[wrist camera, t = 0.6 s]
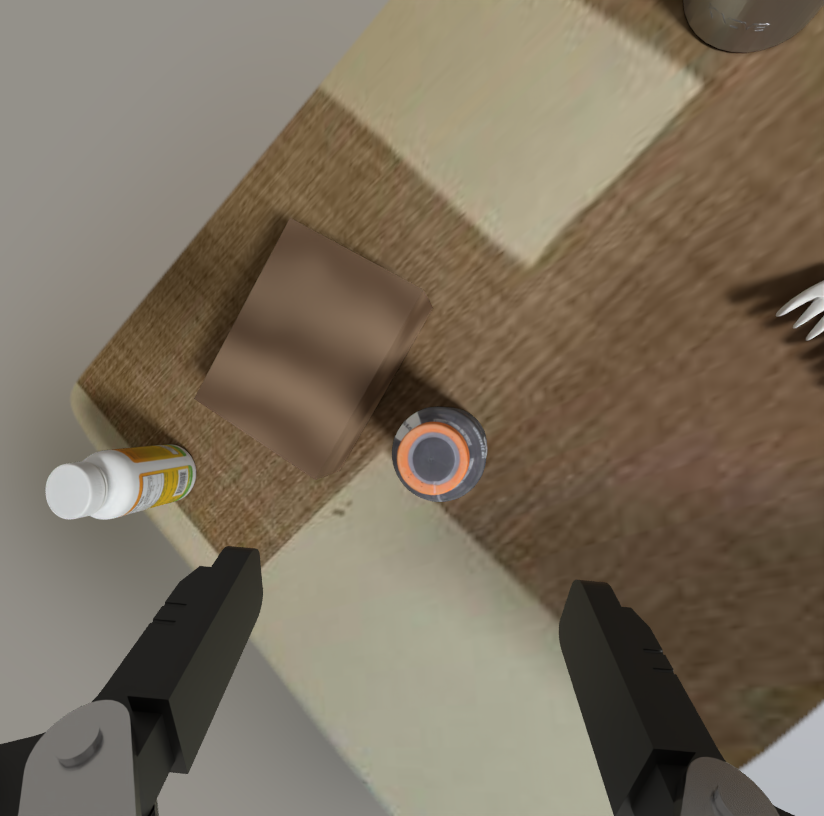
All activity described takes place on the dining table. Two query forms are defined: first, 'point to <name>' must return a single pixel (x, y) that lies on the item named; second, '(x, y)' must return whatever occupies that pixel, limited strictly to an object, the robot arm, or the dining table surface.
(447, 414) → the pill bottle
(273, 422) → the stand
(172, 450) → the supplement bottle
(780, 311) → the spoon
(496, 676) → the dining table surface
